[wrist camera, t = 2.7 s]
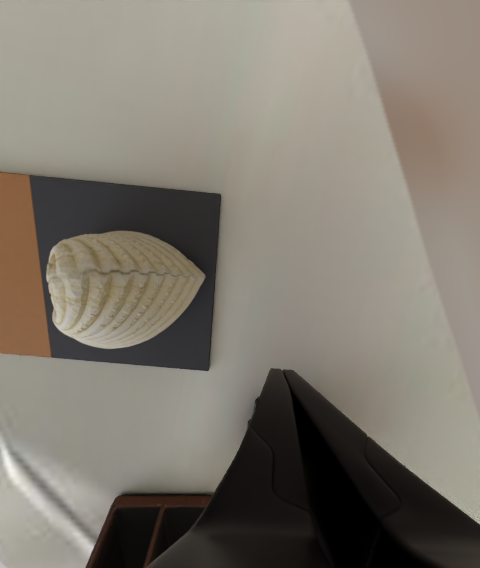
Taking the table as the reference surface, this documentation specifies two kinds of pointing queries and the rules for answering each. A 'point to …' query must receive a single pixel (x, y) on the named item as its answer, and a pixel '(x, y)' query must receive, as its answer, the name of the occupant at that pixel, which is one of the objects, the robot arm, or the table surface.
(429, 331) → the table surface
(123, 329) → the seashell
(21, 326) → the desk pad
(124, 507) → the letter holder
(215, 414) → the table surface
